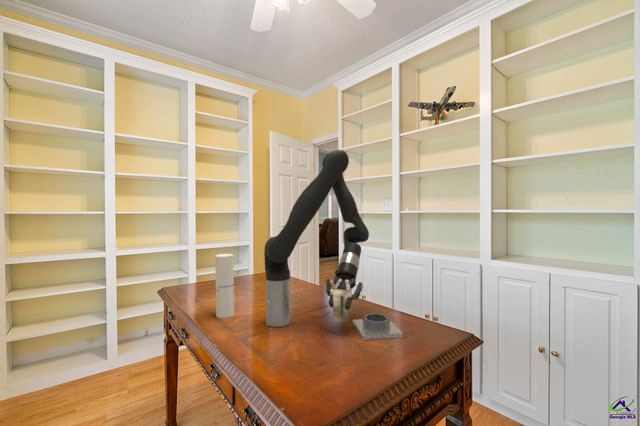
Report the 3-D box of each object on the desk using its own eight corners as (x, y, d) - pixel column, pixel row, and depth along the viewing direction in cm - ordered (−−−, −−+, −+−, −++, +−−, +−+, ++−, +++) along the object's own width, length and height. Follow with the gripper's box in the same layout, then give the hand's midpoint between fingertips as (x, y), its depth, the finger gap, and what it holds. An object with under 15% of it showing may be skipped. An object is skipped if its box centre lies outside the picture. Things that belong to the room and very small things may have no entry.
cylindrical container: (228, 318, 118) (227, 256, 117) (212, 317, 119) (211, 256, 118) (237, 312, 125) (236, 254, 124) (221, 311, 126) (221, 253, 125)
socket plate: (363, 340, 98) (363, 327, 97) (352, 323, 111) (352, 312, 111) (402, 337, 100) (402, 324, 100) (387, 321, 113) (387, 309, 113)
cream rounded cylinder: (334, 322, 100) (334, 293, 100) (331, 316, 106) (331, 289, 105) (349, 321, 101) (349, 293, 101) (345, 316, 106) (345, 288, 106)
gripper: (328, 260, 113) (316, 299, 102) (365, 262, 107) (357, 305, 97) (332, 270, 118) (322, 310, 107) (368, 274, 113) (360, 315, 102)
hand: (338, 307), depth 102 cm, fingers closed on cream rounded cylinder, 5 cm apart
